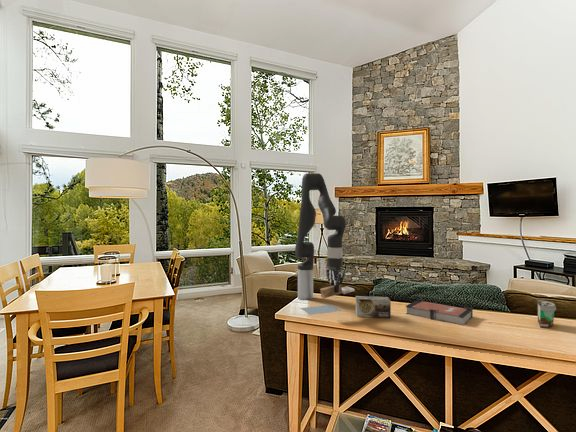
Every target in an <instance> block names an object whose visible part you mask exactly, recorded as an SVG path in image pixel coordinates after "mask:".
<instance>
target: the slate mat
mask: <svg viewBox="0 0 576 432" xmlns="http://www.w3.org/2000/svg"><path fill="white" fill-rule="evenodd" d="M300 310H302V311H304V312H305V313H306V314H308V315H311V316H312V315H317V314H318V315H319V314H326V313H327V314H328V313H333V312H334V313H335V312H341V311H342V309H339V308H337V306H334V305H332V304H324V305H316V306H306V307H300Z"/></svg>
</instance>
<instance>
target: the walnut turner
mask: <svg viewBox="0 0 576 432" xmlns="http://www.w3.org/2000/svg"><path fill="white" fill-rule="evenodd" d="M319 290H320V297H321V298H323V299H327V298H331V297H334V296H337V295H340V294H343V295H346V294H349V293H352V292H355V291H356V290H355V288H353V287H350V286H348V285H346V286H342V284H340V285H339V293H335V292H334V285H332V286H331V285H329V286H326V287H322V288H320V289H319Z"/></svg>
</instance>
